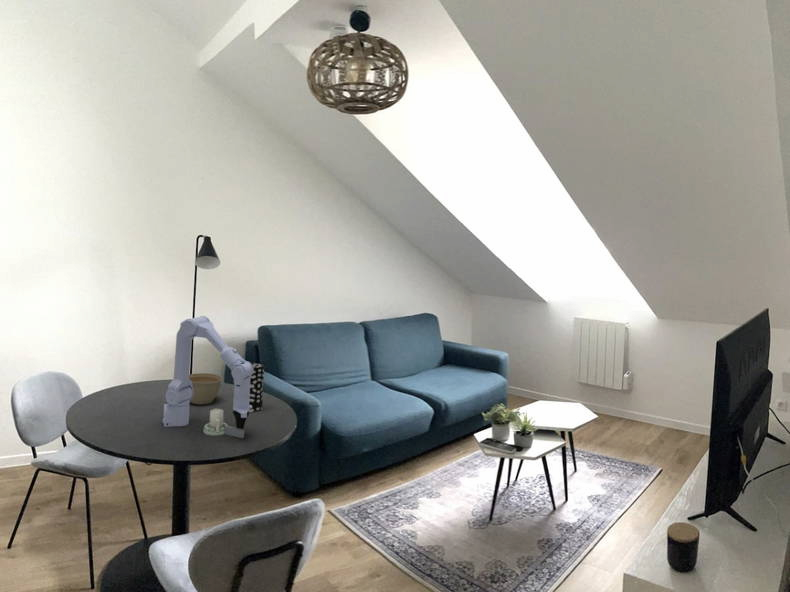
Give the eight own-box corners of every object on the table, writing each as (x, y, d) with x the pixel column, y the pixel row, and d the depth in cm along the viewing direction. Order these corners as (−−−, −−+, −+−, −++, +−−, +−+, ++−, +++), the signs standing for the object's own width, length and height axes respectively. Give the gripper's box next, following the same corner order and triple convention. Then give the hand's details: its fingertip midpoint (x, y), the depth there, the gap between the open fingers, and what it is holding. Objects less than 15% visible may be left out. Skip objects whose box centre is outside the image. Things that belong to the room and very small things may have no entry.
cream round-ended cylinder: (208, 426, 217) (209, 408, 216) (221, 425, 219) (222, 407, 218) (210, 433, 210) (211, 415, 210) (224, 432, 212) (224, 414, 211)
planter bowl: (200, 409, 241) (201, 384, 240) (174, 401, 249) (175, 377, 248) (228, 401, 255) (229, 377, 254) (203, 394, 263) (204, 371, 262)
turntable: (202, 428, 218) (202, 420, 217) (239, 425, 223) (239, 418, 223) (205, 441, 205) (206, 433, 205) (244, 438, 211) (244, 430, 210)
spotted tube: (266, 411, 245) (268, 366, 242) (249, 415, 239) (251, 368, 236) (254, 406, 250) (256, 362, 248) (238, 410, 244) (240, 364, 242)
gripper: (256, 400, 207) (254, 436, 208) (249, 388, 220) (247, 422, 222) (236, 401, 204) (234, 437, 206) (230, 389, 217) (229, 424, 219)
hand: (240, 430), depth 213 cm, fingers closed, pressing on turntable
